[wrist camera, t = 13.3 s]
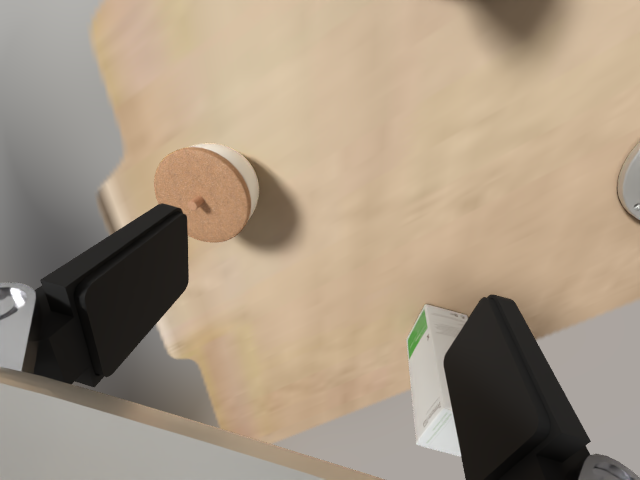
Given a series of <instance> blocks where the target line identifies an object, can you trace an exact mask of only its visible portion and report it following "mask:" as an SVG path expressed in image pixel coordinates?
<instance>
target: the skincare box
mask: <svg viewBox="0 0 640 480" xmlns="http://www.w3.org/2000/svg"><path fill="white" fill-rule="evenodd" d="M467 320H468V317H467V315H465V314H461V313H458V312H454V311H451V310H447V309H443V308H439V307H436V306H432V305H428V304H425V305H424V307H423V309H422V311H421V313H420V314H419V316H418V318H417V320H416V322H415V324H414V326H413V328H412V330H411V332H410V333H409V335H408V337H407V351H408V361H409V371H410V382H411V392H412V402H413V413H414V423H415V434H416V444H417V445H420V446H423V447H426V448H430V449H434V450H438V451H442V452H446V453H449V454H453V455H456V456H460V457H461V452H460V447H459V442H458V437H457V432H456V427H455V422H454V417H453V412H452V406H451V401H450V396H449V391H448V386H447V381H446V376H445V371H444V365H443V361H444V356H445V354H446V352H447V351H448V349H449V348H450V346H451V345H452V343H453V341H454V340H455V338H456V337H457V335H458V334H459V332H460V331H461V329H462V328H463V326H464V324H465V323H466V321H467Z"/></svg>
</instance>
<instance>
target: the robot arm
mask: <svg viewBox="0 0 640 480" xmlns="http://www.w3.org/2000/svg"><path fill="white" fill-rule="evenodd" d="M617 189H618V195H619V199H620V201H621V203H622V205H623V207H624V208H625V209H626V210H627V211H628V213H629V214H631V215H632V216H634V217H635V218H637V219H638V220H640V141H639V142H638V143H637V145H636V146H635V147H634V148H633V150H632V151H631V152H630V153H629V155H628V157H627V159H626V160H625V162H624V164H623V166H622V169H621V172H620V174H619V178H618V187H617ZM188 280H189V279H188V227H187V216H186V215H185V214H183V211H182V209H181V208H178V207H175V206H171V205H167V204H163V203H161V204H159V205H157V206H156V207H154V208H152V209H151V210H149V211H148V212H146V213H145V214H143V215H141V216H140V217H138V218H137V219H135V220H134V221H132V222H130V223H129V224H127V225H126V226H124V227H123V228H121V229H119V230H118V231H116V232H115V233H113V234H112V235H110V236H108V237H107V238H105V239H104V240H102V241H101V242H99V243H98V244H96V245H94V246H93V247H91V248H90V249H88V250H87V251H85V252H83V253H82V254H80V255H79V256H77V257H76V258H74V259H72V260H71V261H69V262H68V263H66V264H65V265H63V266H61V267H60V268H58V269H57V270H55V271H54V272H52V273H50V274H49V275H47V276H46V277H44V278H43V279H41V283H42V286H41V287H39V288H37V289H36V290H33V289H32V288H31V287H29V286H27V285H24V284H21V283H12V282H11V283H0V480H385V479H381V478H378V477H375V476H372V475H369V474H365V473H362V472H359V471H356V470H353V469H350V468H346V467H343V466H340V465H337V464H333V463H330V462H327V461H323V460H320V459H317V458H314V457H311V456H307V455H304V454H301V453H298V452H295V451H291V450H288V449H285V448H282V447H278V446H275V445H272V444H269V443H265V442H262V441H259V440H256V439H252V438H249V437H246V436H243V435H239V434H236V433H233V432H229V431H226V430H223V429H220V428H216V427H213V426H210V425H206V424H203V423H199V422H196V421H193V420H190V419H187V418H183V417H180V416H176V415H173V414H170V413H167V412H163V411H160V410H157V409H154V408H150V407H147V406H144V405H140V404H137V403H133V402H130V401H127V400H124V399H120V398H117V397H114V396H110V395H107V394H103V393H100V392H96V391H93V390H89V389H85V388H82V387H79V386H75V385H72V383H73V382H74V381H75V382H79V383H82V384H85V385H88V386H92V387H95V386H96V385H97V384H98V383H99V382H100V380H101V379H102V378H103V377H104V376H105V377H108V376H110V375H111V374H113V373H114V372H115V370H116V369H117V368H118V367H119V366H120V365H121V363H122V362H123V361H124V360H125V359H126V358H127V357H128V355H129V354H130V353H131V352H132V351H133V350H134V348H135V347H136V346H137V345H138V343H140V341H141V340H142V339H143V338H144V337H145V336H146V335H147V334H148V332H149V331H150V330H151V329H152V328H153V326H154V325H155V324H156V323H157V322H158V321H159V320H160V319H161V317H162V316H163V315H164V314H165V313H166V312H167V310H168V309H169V308H170V307H171V306H172V305H173V304H174V302H175V301H176V300H177V299H178V298H179V297H180V295H181V294H182V293H183V292H184V291H185V289H186V287H187V285H188ZM443 365H444V371H445V376H446V381H447V386H448V391H449V396H450V401H451V406H452V412H453V417H454V422H455V427H456V432H457V437H458V442H459V447H460V452H461V457H462V462H463V468H464V473H465V478H466V480H640V478H639V477H638V476H637V475H636V474H635V473H634V472H632V471H631V470H630V469H628V468H627V467H626V466H624V465H623V464H621V463H620V462H618V461H616V460H614V459H612V458H610V457H608V456H604V455H599V454H594V455H590V453H589V452H588V450H587V448H586V446H585V445H587V444H588V443H589V442H591V441H590V439H589V437H588V436H587V434H586V432H585V430H584V428H583V426H582V425H581V423H580V421H579V419H578V417H577V415H576V414H575V412H574V410H573V408H572V406H571V404H570V403H569V401H568V399H567V397H566V395H565V393H564V391H563V390H562V388H561V386H560V384H559V382H558V381H557V379H556V377H555V375H554V373H553V371H552V369H551V368H550V366H549V364H548V362H547V360H546V358H545V357H544V355H543V353H542V351H541V349H540V347H539V346H538V344H537V342H536V340H535V338H534V336H533V335H532V333H531V331H530V329H529V327H528V325H527V324H526V322H525V320H524V318H523V316H522V314H521V312H520V311H519V309H518V307H517V305H516V303H515V302H514V301H513V300H511V299H507V298H504V297H500V296H497V295H490V296H488V297H487V298H486V297H483V298H482V299H481V300H480V301H479V303H478V304H477V306H476V307H475V309H474V311H473V312H472V314H471V315H470V317H469V318H468V320H467V321H466V323H465V324H464V326H463V328H462V329H461V331H460V332H459V334H458V335H457V337H456V338H455V340H454V341H453V343H452V345H451V346H450V348H449V349H448V351H447V352H446V354H445V356H444V361H443Z"/></svg>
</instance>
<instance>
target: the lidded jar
mask: <svg viewBox="0 0 640 480" xmlns="http://www.w3.org/2000/svg"><path fill="white" fill-rule="evenodd" d="M154 187H155V194H156V198H157V201H158V203H159V204H161V203H163V204H167V205H171V206H175V207H178V208H181V209H182V211H183V214H185V215H186V216H187V227H188V236H190V237H193V238H195V239H197V240H201V241H206V242H222V241H226V240H229V239H231V238H233V237H235V236H236V235H237V234H238V233H240V231H241V230H242V229H243V228H244V226H245V225H246V223H247V221H248V220H249V219H250V217H251V216H252V214H253V212H254V210H255V208H256V205H257V202H258V198H259V183H258V178H257V175H256V172H255V171H254V169H253V167H252V165H251V164H250V163H249V161H248V160H247V159H246V158H245V157H244V156H243V155H242V154H240V153H239V152H238V151H236V150H234V149H232V148H230V147H228V146H225V145H221V144H215V143H203V144H197V145H193V146H189V147H186V148H183V149H179V150H176V151H174V152H172V153H170V154H168V155H167V156H166V157H165V158H164V159H163V160H162V161H161V162H160V164H159V166H158V168H157V170H156V173H155V179H154Z"/></svg>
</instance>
